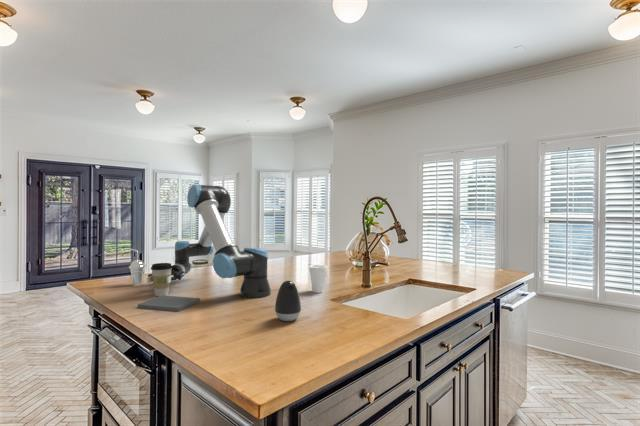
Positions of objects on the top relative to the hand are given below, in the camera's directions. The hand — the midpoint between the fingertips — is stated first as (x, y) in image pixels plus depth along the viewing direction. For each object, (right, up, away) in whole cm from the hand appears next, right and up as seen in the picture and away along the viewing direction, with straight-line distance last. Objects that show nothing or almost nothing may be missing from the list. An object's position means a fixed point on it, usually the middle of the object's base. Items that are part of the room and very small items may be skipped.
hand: (157, 280), depth 168 cm
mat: (+11, -8, -12) cm, 19 cm away
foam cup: (+77, -9, +15) cm, 79 cm away
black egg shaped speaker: (+65, -9, -31) cm, 73 cm away
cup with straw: (-23, -8, +26) cm, 35 cm away
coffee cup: (0, -8, +5) cm, 9 cm away
